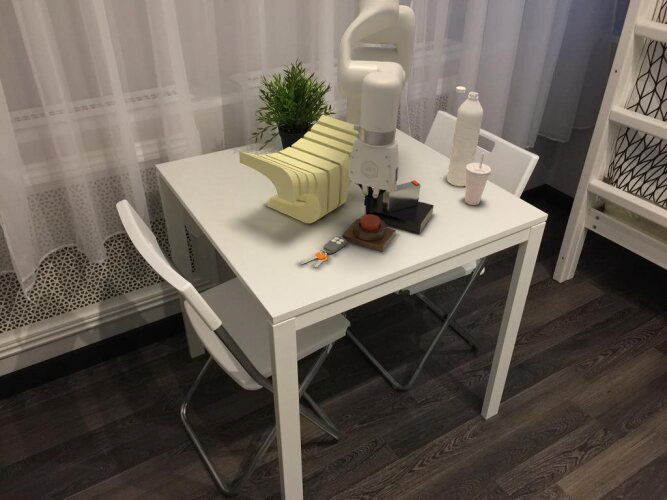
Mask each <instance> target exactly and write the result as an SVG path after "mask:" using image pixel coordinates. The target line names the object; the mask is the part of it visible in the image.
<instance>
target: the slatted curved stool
mask: <svg viewBox="0 0 667 500" xmlns="http://www.w3.org/2000/svg"><path fill="white" fill-rule="evenodd" d="M357 136H358V131H357V130H354V125H353V124H350V123H347V122H346V121H344V120H341V119H337V118H334V117H331V116H328V115H325V114H322V115H321V116H319V118H318V120H317V123H314V124H313V126H312V127H311V128H310V130H308V131H307V132H306V133H305V134H304V135H303V137H301V138H300V139H298V140H297V141H296V142H294V143H293V144H291V147H290V146H288V147H286V148H284V149H281V150H280V151H278V152H273V153H266V154H254V153H247V152H244V151H240V150H239V151H238V152H239V153H238V155H239V163H240V164H241V165H245V166H247V167H248V168H251V169H252V170H255V171H257V172H258V173H260V174H262V175H263V176H264V177H266V178H267V179H268V180H269V181H270V182H271V183H272V184H273V186H274V188H275V190H276V192H277V193H276V194H274V195H273V196H271V197H269V200H268V203H267V207H268V208H271V209H273V210H275V211H277V212H280V213H282V214H285V215H287V216H289V217H291V218H293V219H296V220H298V221H300V222H302V223H304V224H313V223H314V222H317V221H319V220H320V219H322V218H323V217H325V216H326V215H327V214H330V213H332V211H335V210H336V209H338V208H339V207H341V206H342V205H344V204H345V203H346V202H347V200H348V193H349V187H350V183H351V181H350V179H349V166H350V159H351V154H352V149H353V144H354V141H355V138H356V137H357Z"/></svg>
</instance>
